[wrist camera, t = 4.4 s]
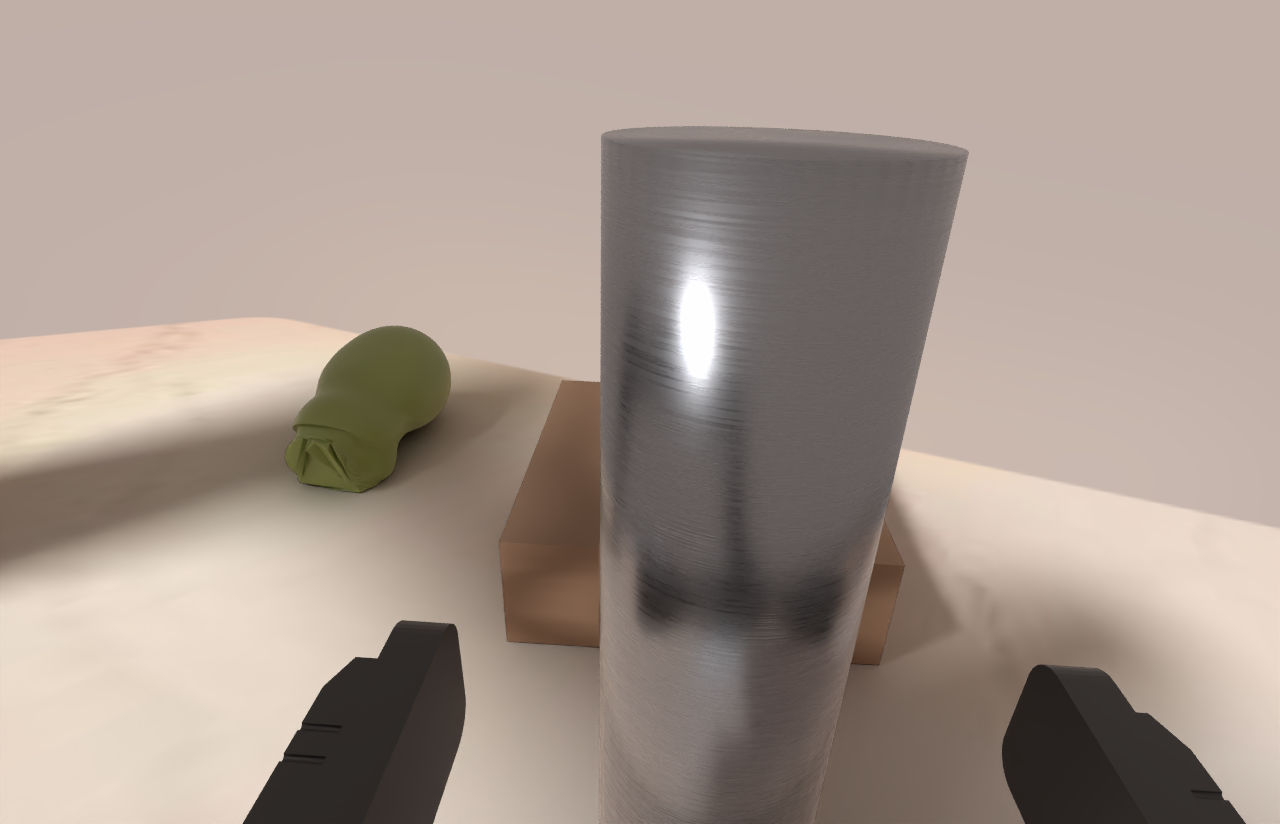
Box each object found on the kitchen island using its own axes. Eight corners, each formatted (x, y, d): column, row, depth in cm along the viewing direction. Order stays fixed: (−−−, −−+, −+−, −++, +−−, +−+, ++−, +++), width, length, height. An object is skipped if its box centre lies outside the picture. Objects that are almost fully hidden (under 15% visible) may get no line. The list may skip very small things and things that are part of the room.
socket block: (506, 641, 22) (499, 542, 20) (563, 455, 33) (562, 380, 31) (878, 664, 22) (904, 565, 20) (813, 469, 32) (826, 393, 31)
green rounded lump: (460, 313, 34) (359, 432, 26) (474, 399, 38) (388, 528, 30) (358, 303, 35) (231, 415, 27) (381, 388, 38) (272, 511, 30)
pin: (588, 993, 14) (578, 151, 7) (608, 788, 18) (616, 122, 11) (806, 1010, 14) (1041, 168, 6) (778, 800, 18) (904, 133, 10)
